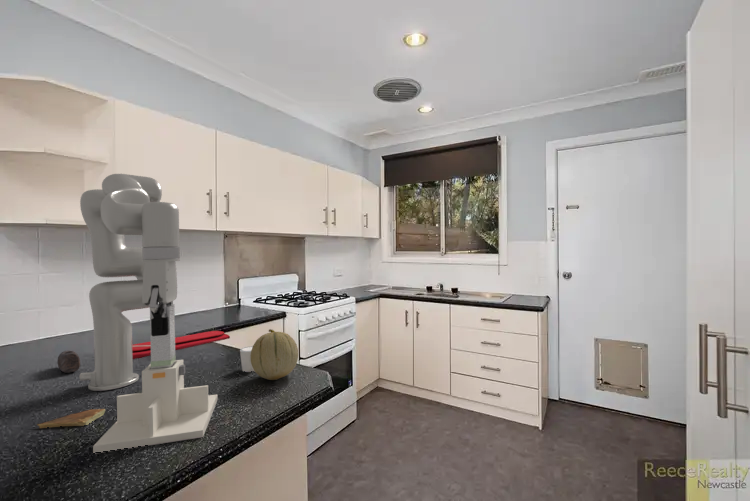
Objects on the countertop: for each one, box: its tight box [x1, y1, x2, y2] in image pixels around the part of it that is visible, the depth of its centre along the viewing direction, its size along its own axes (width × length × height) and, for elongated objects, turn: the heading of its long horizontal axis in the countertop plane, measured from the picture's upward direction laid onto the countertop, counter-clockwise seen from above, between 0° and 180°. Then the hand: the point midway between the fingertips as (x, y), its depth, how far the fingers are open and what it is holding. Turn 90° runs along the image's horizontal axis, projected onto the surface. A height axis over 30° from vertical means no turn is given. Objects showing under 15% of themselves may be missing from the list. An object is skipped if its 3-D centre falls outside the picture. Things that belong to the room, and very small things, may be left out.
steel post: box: [149, 303, 177, 369], centre depth 82 cm, size 4×4×18 cm
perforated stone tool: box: [56, 350, 81, 374], centre depth 123 cm, size 15×5×7 cm, turn 49°
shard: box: [36, 408, 106, 429], centre depth 85 cm, size 11×8×2 cm
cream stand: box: [92, 359, 219, 454], centre depth 82 cm, size 20×20×14 cm
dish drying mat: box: [132, 330, 231, 360], centre depth 153 cm, size 16×41×4 cm, turn 141°
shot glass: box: [239, 345, 255, 373], centre depth 120 cm, size 7×7×7 cm
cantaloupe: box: [250, 328, 299, 381], centre depth 110 cm, size 15×15×15 cm
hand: (162, 332), depth 82 cm, fingers closed on steel post, 4 cm apart
